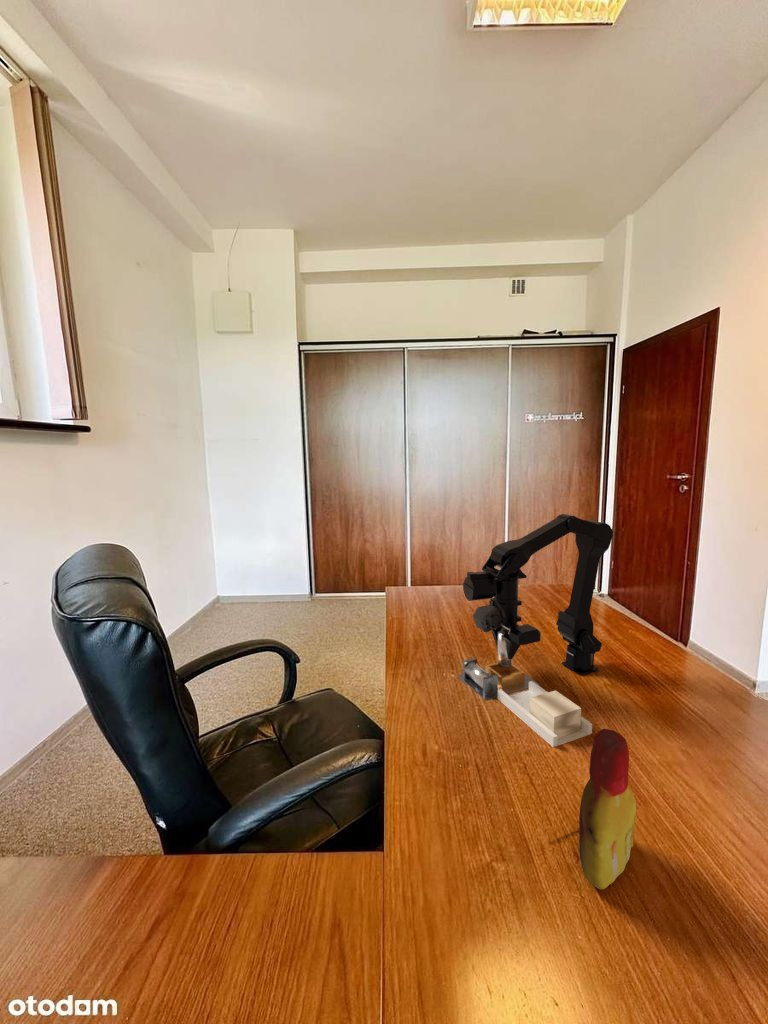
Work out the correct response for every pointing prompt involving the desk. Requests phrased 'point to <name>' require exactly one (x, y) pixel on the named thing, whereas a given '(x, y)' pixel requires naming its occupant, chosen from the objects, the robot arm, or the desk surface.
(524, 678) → the grey metal holder
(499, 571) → the robot arm
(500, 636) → the capped metal canister
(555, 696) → the pale wooden block
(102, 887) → the desk surface
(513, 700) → the bay
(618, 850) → the bottle
